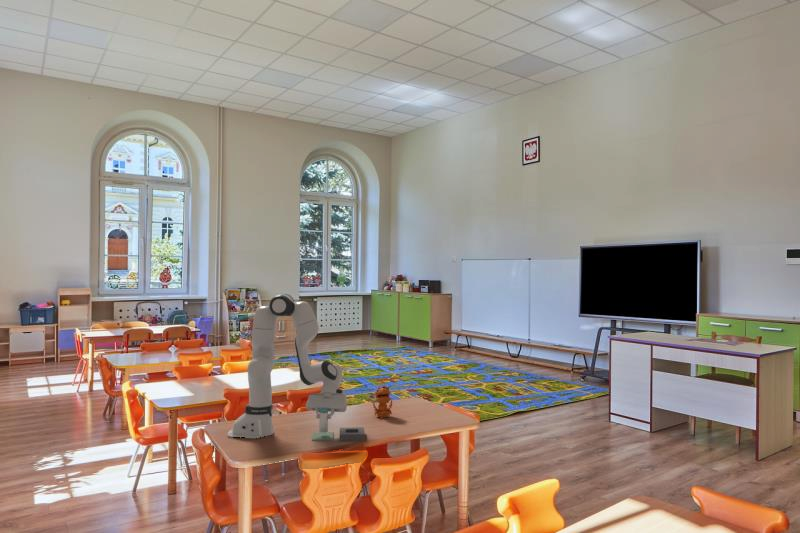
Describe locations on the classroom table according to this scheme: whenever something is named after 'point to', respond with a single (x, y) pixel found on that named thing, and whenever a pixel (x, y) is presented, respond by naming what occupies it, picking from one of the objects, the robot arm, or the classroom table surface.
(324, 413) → the filter cartridge
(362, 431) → the grey square base
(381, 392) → the brown plush toy
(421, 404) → the classroom table surface
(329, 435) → the service mat
